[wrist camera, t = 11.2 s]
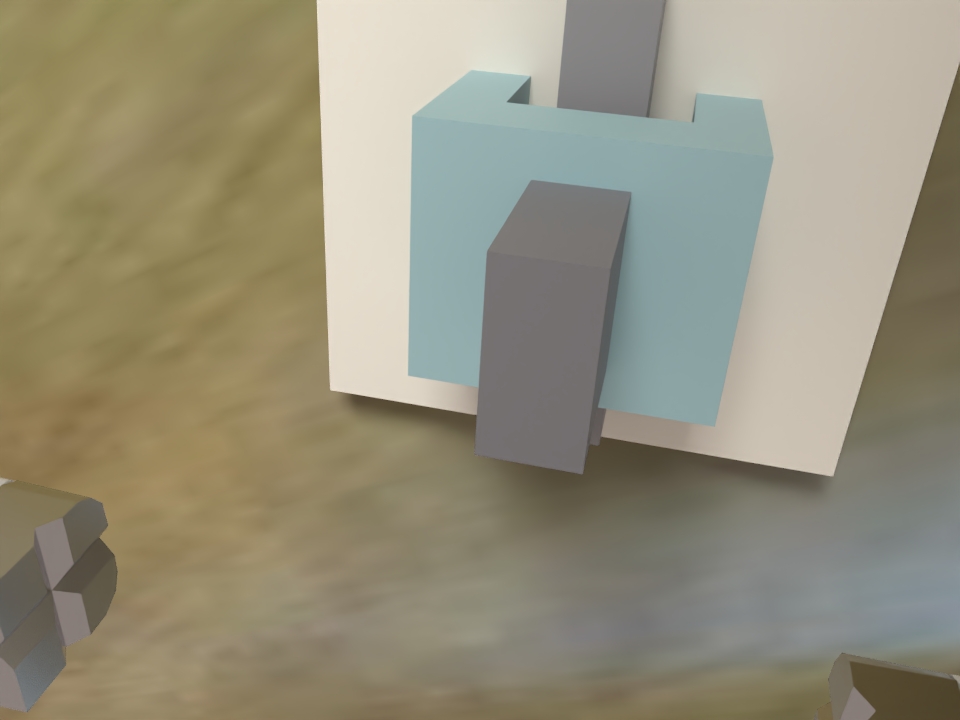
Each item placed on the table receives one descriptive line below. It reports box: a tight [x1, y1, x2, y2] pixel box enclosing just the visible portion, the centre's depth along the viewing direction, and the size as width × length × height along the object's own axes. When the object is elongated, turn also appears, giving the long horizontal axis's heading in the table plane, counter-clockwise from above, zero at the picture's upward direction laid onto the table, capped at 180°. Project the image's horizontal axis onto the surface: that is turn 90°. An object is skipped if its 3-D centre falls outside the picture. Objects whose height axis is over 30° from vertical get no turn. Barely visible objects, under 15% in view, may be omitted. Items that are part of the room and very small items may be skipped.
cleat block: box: [408, 70, 774, 474], centre depth 19 cm, size 6×7×9 cm
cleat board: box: [317, 0, 960, 476], centre depth 23 cm, size 14×15×4 cm
